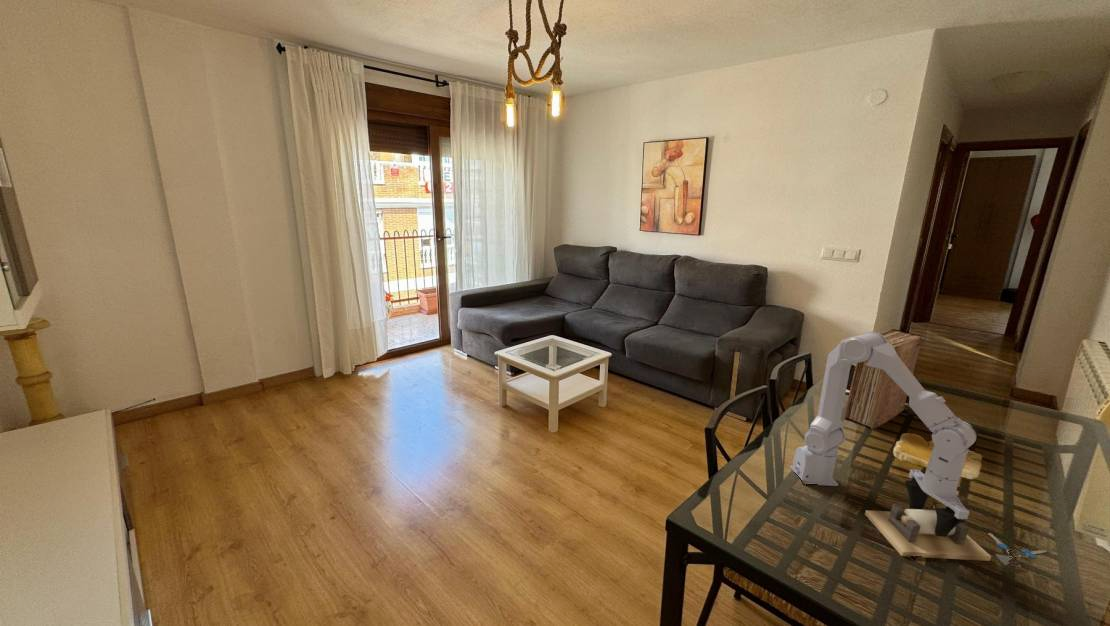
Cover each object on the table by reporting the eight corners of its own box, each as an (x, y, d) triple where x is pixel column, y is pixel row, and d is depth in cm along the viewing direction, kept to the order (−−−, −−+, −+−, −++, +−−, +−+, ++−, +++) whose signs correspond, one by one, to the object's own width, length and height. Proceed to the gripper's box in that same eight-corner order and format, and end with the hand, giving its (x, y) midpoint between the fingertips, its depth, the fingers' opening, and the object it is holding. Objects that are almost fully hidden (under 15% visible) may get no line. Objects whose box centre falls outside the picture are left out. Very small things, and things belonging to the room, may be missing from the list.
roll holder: (901, 555, 98) (907, 535, 96) (864, 514, 110) (869, 495, 109) (989, 560, 97) (997, 540, 96) (942, 518, 110) (948, 499, 108)
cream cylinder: (908, 538, 101) (915, 520, 100) (893, 520, 106) (899, 503, 104) (958, 540, 101) (965, 523, 99) (940, 523, 106) (947, 506, 104)
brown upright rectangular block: (871, 430, 150) (892, 347, 142) (842, 418, 157) (861, 339, 149) (903, 411, 164) (923, 335, 155) (875, 401, 171) (893, 328, 163)
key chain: (1015, 573, 95) (1017, 570, 95) (969, 545, 102) (970, 542, 102) (1046, 553, 100) (1048, 550, 100) (1000, 528, 107) (1001, 525, 107)
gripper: (990, 495, 92) (972, 548, 96) (936, 454, 106) (921, 502, 110) (955, 493, 92) (938, 546, 96) (906, 453, 106) (892, 500, 110)
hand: (927, 522), depth 103 cm, fingers open, 7 cm apart
